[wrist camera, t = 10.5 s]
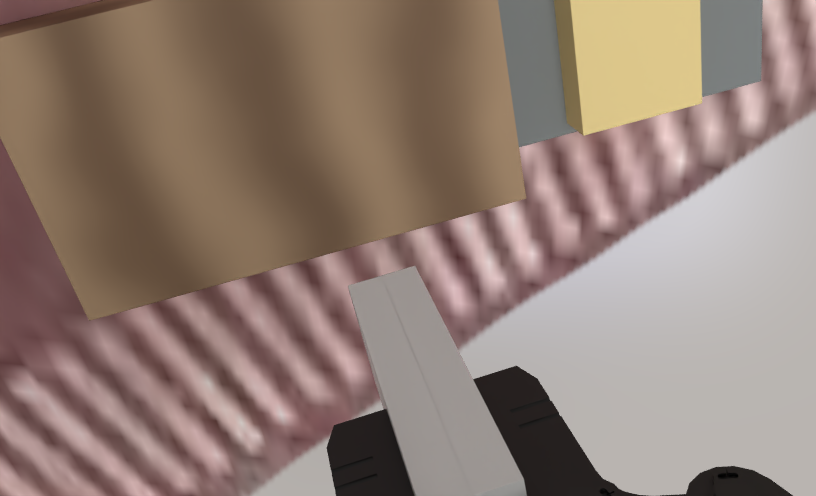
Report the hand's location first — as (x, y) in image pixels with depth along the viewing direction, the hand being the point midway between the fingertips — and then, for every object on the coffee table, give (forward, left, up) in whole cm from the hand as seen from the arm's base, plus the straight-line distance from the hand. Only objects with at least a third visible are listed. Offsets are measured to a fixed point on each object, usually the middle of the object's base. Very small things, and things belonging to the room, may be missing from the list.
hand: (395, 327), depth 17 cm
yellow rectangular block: (+15, 0, -18) cm, 23 cm away
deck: (-2, 0, -20) cm, 21 cm away
